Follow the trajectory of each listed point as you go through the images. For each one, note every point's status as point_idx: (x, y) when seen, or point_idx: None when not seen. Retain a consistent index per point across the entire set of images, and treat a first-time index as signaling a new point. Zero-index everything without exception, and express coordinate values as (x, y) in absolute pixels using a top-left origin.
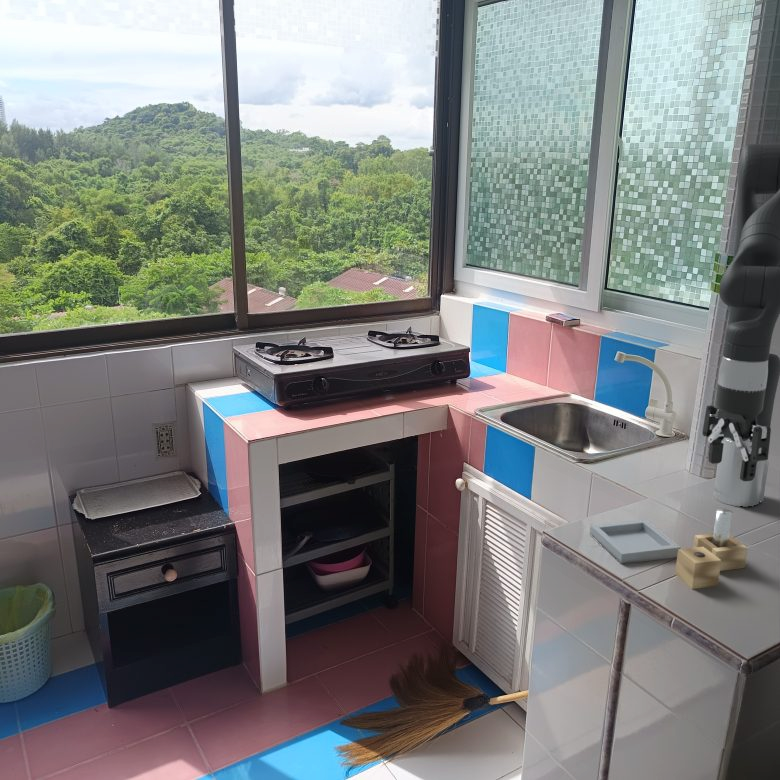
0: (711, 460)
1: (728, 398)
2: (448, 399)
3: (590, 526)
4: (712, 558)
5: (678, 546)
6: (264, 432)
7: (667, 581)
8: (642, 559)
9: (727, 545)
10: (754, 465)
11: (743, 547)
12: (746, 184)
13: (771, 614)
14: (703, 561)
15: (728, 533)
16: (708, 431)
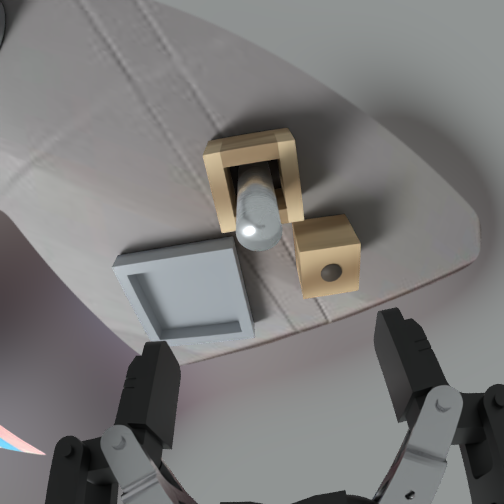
0: (179, 380)
1: None
2: None
3: None
4: (350, 255)
5: (229, 250)
6: (31, 447)
7: None
8: (247, 300)
9: (268, 175)
10: (438, 377)
11: (291, 149)
12: None
13: (433, 173)
14: (356, 275)
15: (273, 192)
16: (112, 486)
